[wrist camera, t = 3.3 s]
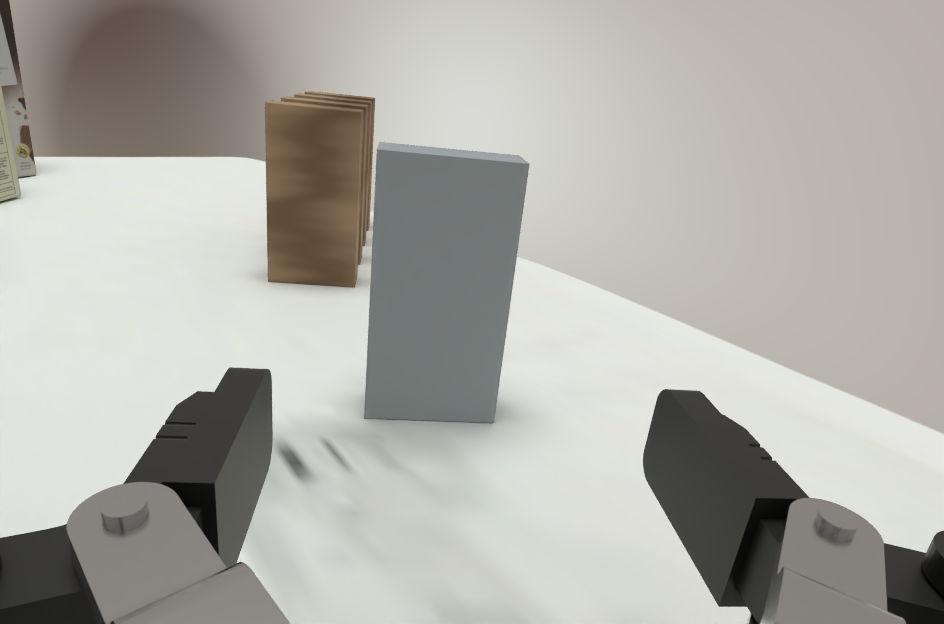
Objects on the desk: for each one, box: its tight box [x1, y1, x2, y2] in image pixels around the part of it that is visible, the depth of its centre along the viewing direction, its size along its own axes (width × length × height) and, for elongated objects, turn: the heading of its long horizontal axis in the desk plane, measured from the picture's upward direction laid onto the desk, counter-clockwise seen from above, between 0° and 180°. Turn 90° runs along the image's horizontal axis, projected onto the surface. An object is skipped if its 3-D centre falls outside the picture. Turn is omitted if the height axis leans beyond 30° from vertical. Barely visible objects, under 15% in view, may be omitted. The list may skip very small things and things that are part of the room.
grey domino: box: [364, 142, 529, 423], centre depth 23 cm, size 5×2×10 cm, turn 96°
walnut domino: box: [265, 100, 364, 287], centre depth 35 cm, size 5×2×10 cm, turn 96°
